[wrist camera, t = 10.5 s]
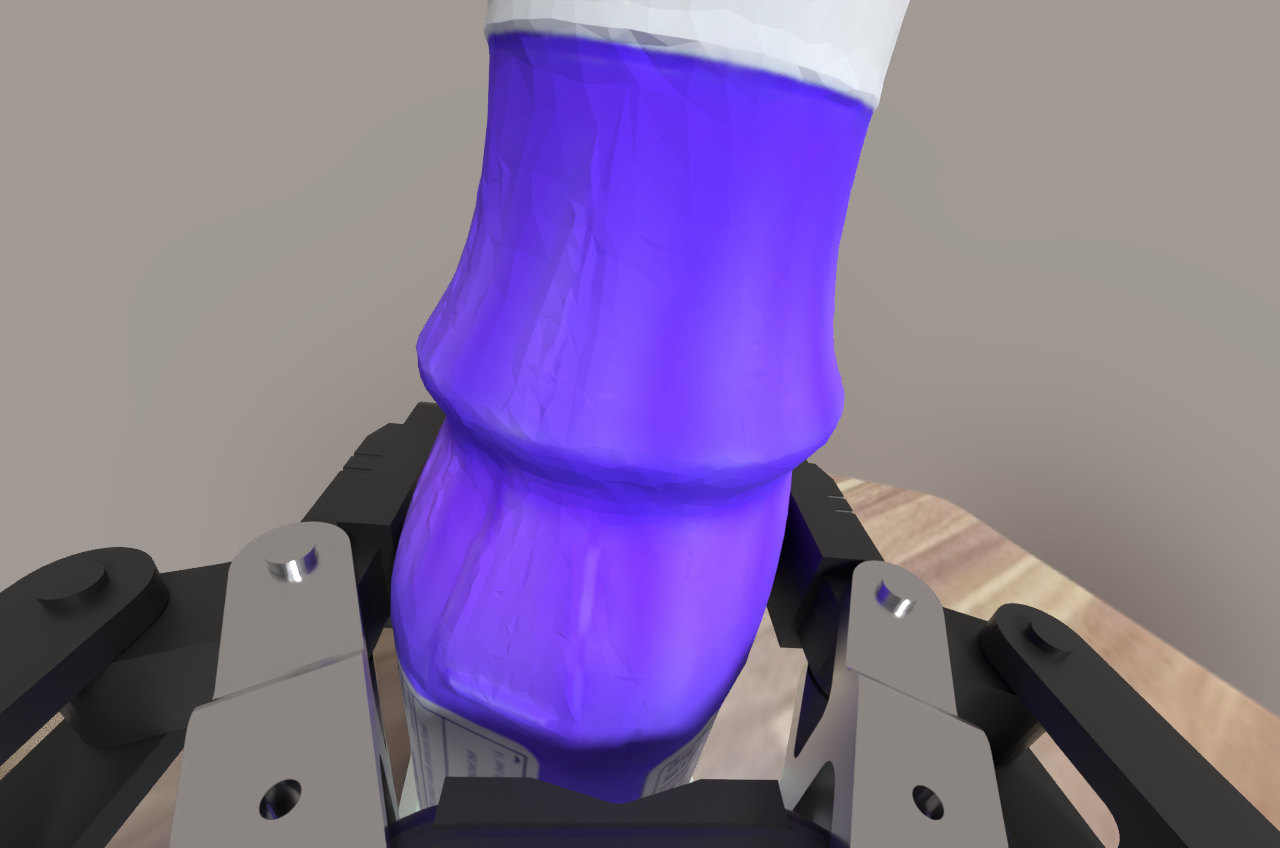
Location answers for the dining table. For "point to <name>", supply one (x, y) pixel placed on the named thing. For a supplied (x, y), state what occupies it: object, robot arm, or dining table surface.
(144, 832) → the dining table surface
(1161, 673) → the dining table surface
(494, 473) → the bottle
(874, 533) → the dining table surface
